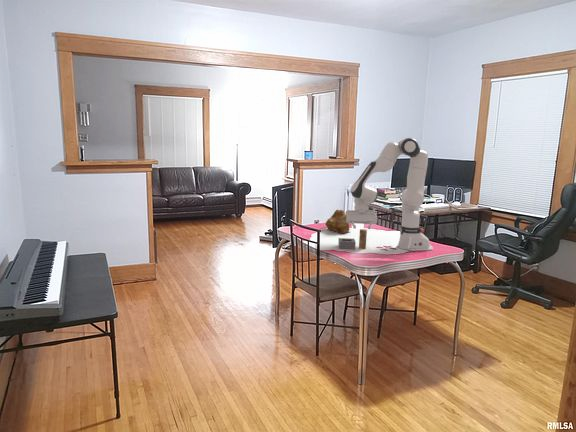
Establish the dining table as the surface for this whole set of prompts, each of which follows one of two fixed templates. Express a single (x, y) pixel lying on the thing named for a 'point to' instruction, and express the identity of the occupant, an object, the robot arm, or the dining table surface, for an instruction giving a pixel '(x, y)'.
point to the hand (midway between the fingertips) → (361, 228)
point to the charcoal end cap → (346, 243)
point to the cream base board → (360, 249)
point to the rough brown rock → (338, 222)
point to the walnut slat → (362, 239)
